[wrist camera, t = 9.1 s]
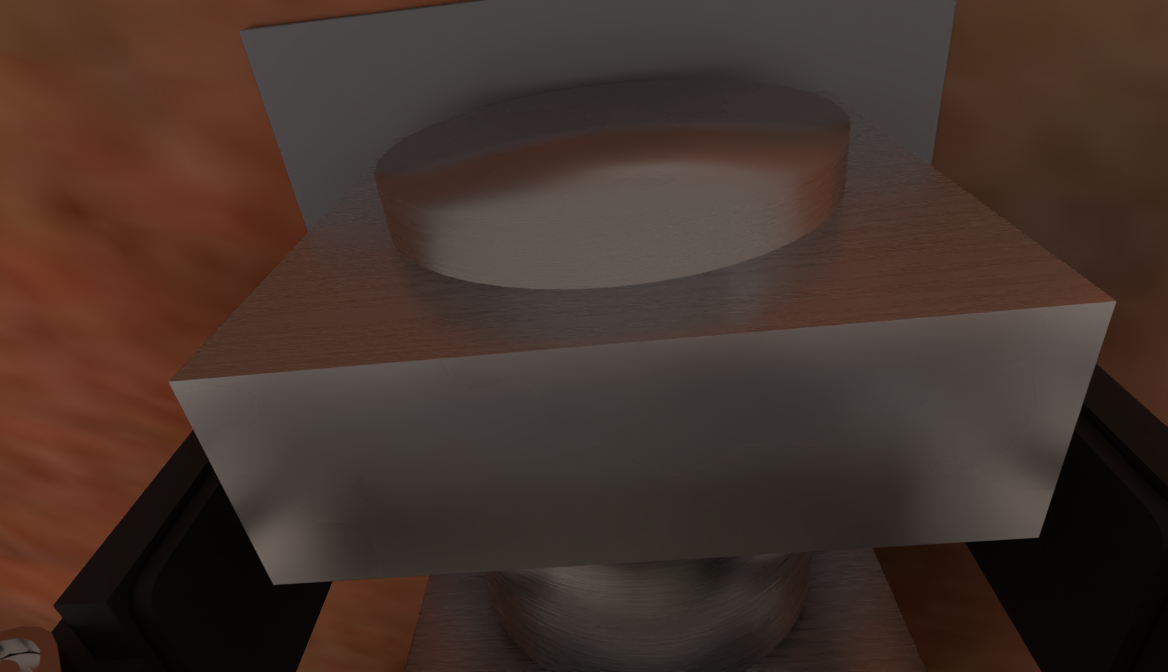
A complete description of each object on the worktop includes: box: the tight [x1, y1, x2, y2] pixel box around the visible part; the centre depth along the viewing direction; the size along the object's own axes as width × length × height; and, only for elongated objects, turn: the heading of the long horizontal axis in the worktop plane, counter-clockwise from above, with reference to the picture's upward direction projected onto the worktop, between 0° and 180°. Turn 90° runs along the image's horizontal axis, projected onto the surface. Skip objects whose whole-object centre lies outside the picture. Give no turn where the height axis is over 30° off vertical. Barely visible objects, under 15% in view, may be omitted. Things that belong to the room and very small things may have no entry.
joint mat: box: [239, 0, 956, 232], centre depth 12 cm, size 10×10×1 cm
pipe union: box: [169, 79, 1116, 672], centre depth 9 cm, size 9×6×6 cm
